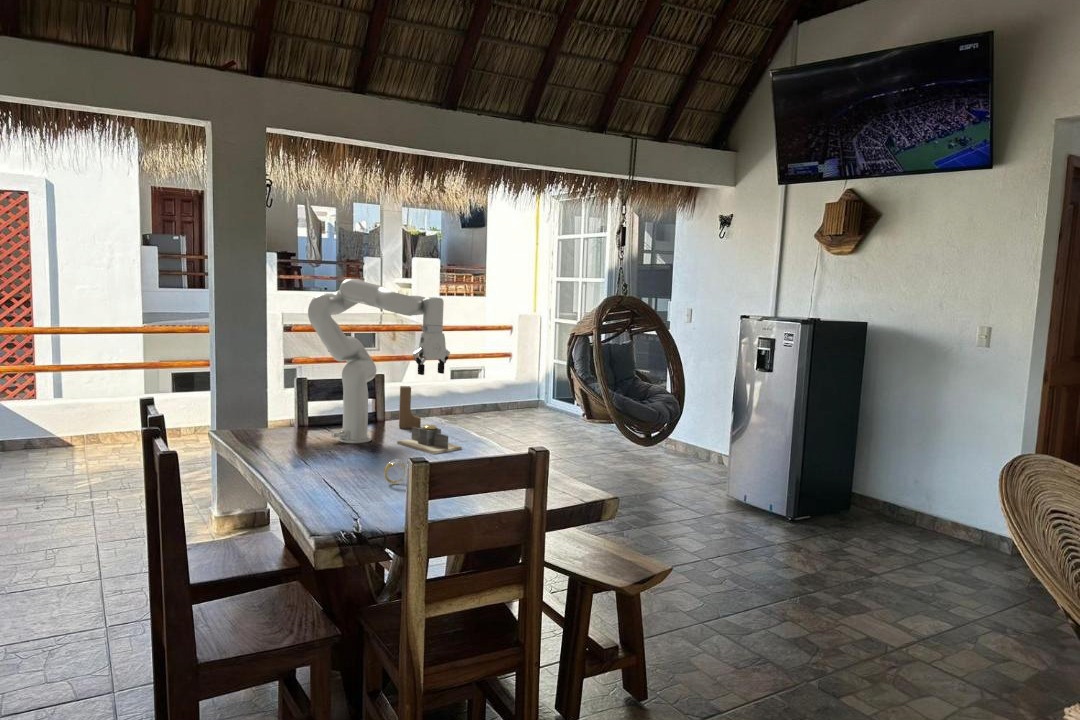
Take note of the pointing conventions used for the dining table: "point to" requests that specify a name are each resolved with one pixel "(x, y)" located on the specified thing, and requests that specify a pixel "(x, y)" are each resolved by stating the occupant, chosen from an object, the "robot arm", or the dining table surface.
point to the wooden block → (407, 410)
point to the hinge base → (429, 441)
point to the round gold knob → (429, 427)
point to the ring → (391, 466)
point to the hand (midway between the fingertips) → (431, 373)
